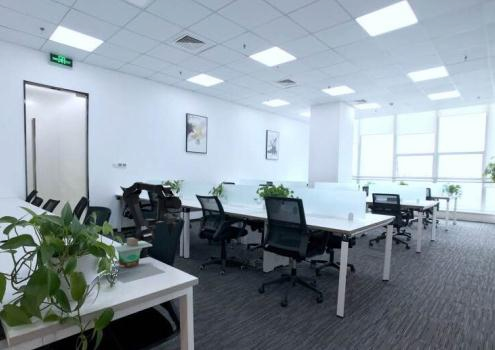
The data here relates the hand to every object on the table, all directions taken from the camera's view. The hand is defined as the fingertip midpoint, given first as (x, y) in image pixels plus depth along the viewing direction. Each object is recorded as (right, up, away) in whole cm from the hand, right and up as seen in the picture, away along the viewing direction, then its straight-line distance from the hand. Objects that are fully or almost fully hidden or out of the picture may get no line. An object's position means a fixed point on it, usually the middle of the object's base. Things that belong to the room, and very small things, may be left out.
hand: (162, 237), depth 148 cm
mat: (-5, -13, -19) cm, 24 cm away
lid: (-12, -3, -9) cm, 15 cm away
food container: (-12, -13, -10) cm, 20 cm away
